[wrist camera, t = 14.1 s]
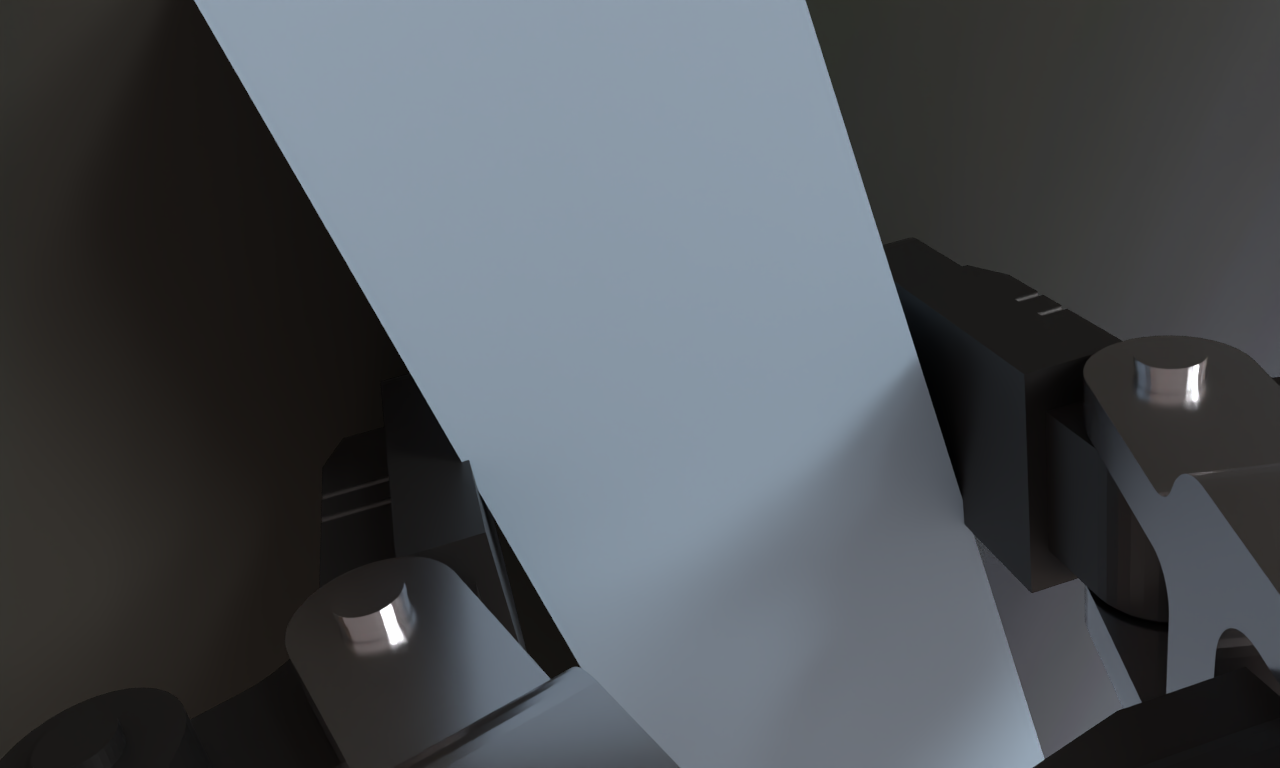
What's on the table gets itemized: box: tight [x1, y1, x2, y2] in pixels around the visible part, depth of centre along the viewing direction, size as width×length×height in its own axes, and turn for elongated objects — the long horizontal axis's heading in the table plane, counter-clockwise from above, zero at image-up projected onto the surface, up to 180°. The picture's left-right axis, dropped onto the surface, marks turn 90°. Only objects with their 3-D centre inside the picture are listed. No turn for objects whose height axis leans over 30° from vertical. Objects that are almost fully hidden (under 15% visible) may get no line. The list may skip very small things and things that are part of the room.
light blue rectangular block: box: [194, 0, 1044, 768], centre depth 11 cm, size 12×4×3 cm, turn 24°
